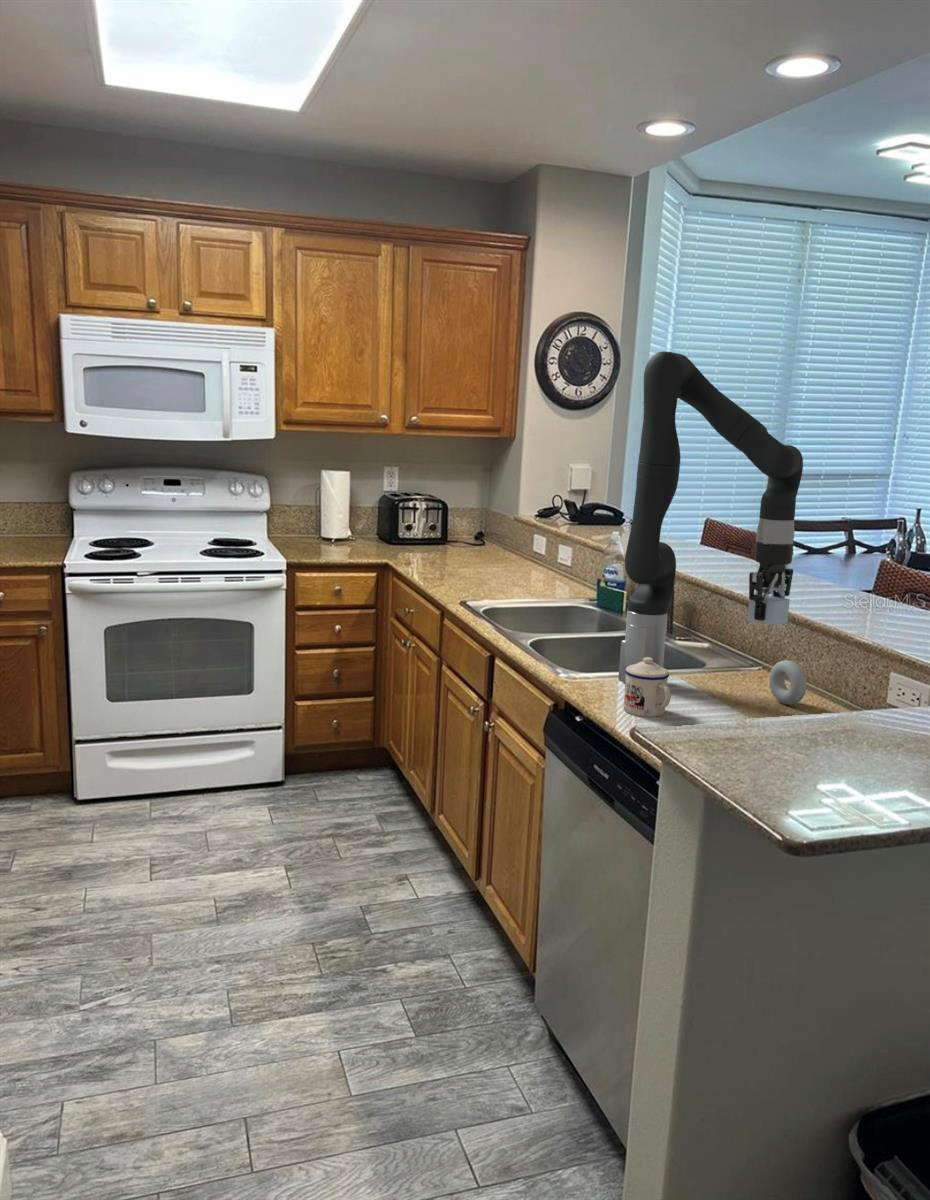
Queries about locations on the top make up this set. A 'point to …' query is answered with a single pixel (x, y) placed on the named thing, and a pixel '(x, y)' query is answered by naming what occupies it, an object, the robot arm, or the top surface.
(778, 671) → the donut
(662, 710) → the teacup with lid
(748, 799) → the top surface
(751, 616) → the gray block
